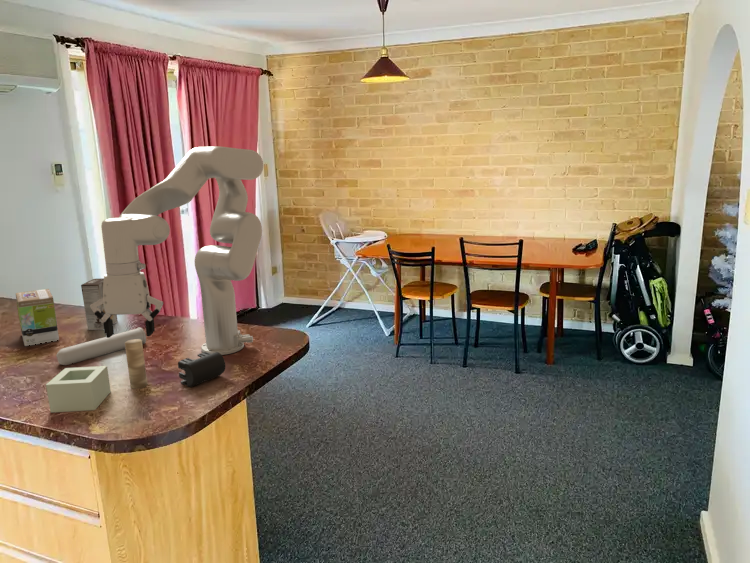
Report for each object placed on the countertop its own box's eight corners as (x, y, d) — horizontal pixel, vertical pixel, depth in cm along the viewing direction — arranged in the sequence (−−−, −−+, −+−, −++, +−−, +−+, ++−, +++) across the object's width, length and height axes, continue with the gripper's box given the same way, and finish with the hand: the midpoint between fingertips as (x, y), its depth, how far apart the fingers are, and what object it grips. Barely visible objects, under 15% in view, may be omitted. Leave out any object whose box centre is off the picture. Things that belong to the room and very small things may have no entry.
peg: (149, 382, 146) (143, 338, 143) (144, 388, 142) (138, 344, 140) (133, 382, 146) (127, 339, 143) (128, 389, 142) (122, 344, 139)
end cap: (194, 391, 141) (192, 365, 139) (178, 384, 145) (175, 359, 143) (227, 377, 148) (224, 353, 147) (210, 371, 152) (208, 348, 151)
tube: (60, 356, 156) (146, 332, 174) (52, 346, 158) (138, 324, 177) (61, 371, 158) (146, 346, 176) (53, 361, 161) (137, 338, 179)
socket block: (110, 391, 141) (107, 365, 139) (94, 409, 131) (90, 382, 129) (69, 394, 140) (65, 368, 138) (50, 412, 130) (45, 384, 129)
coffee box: (100, 321, 199) (94, 278, 195) (118, 321, 199) (112, 277, 195) (87, 330, 190) (80, 284, 186) (105, 330, 190) (99, 284, 186)
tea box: (60, 340, 180) (53, 296, 176) (24, 347, 175) (16, 301, 171) (55, 328, 192) (49, 287, 189) (21, 334, 187) (14, 292, 183)
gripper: (163, 265, 141) (169, 329, 145) (92, 266, 140) (100, 332, 143) (154, 270, 134) (161, 338, 137) (79, 272, 132) (88, 341, 136)
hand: (130, 335), depth 140 cm, fingers open, 9 cm apart
